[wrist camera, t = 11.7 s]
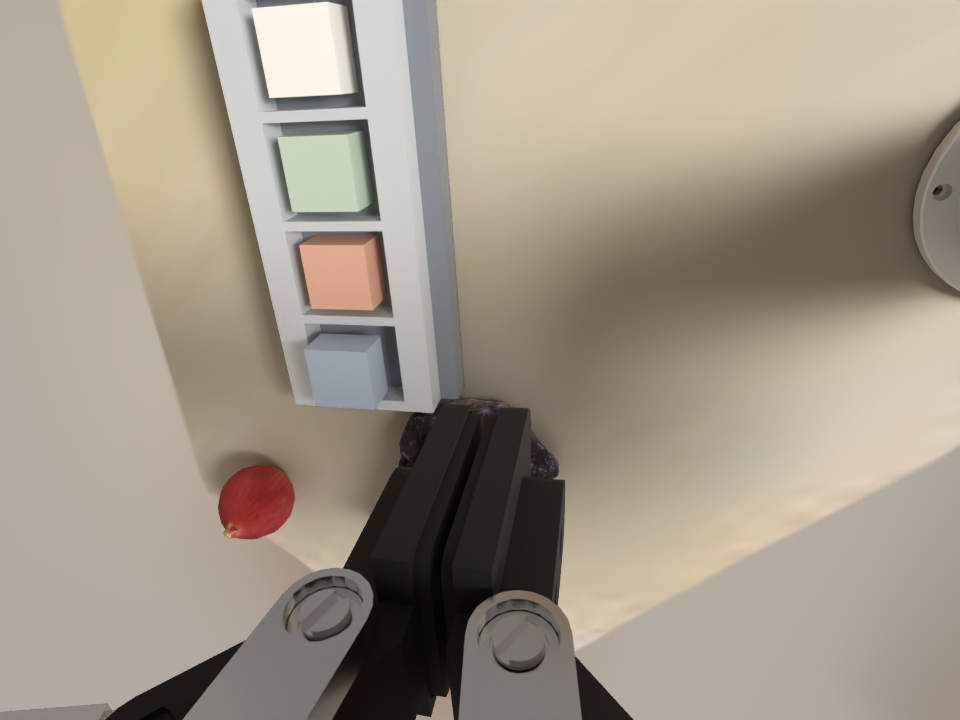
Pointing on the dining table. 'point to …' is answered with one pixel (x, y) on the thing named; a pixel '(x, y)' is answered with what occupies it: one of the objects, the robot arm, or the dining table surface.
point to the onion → (255, 502)
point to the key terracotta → (343, 271)
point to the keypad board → (394, 180)
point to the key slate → (347, 371)
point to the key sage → (326, 171)
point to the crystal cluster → (423, 422)
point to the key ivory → (306, 49)
